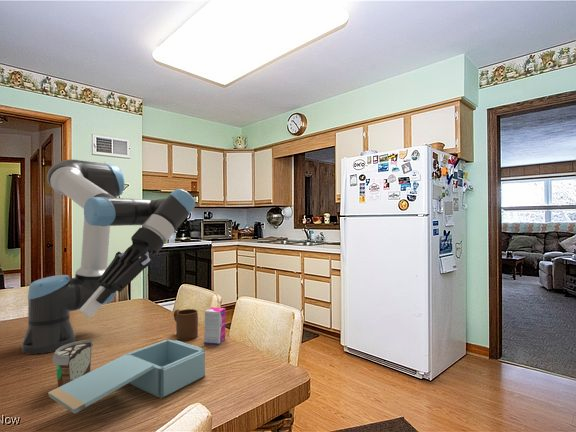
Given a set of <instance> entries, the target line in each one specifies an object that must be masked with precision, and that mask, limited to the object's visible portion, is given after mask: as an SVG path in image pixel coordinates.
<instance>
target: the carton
mask: <svg viewBox="0 0 576 432" xmlns="http://www.w3.org/2000/svg"><path fill="white" fill-rule="evenodd" d="M126 354H127V355H129V356H132V357H134V358H137V359H139V360H142V361H145V362H147V363H150V364H152V365H154V369H152V370H150V371H148V372H147V373H145V374H143V375H141V376H140V377H138V378H136V379H134V380H133V381H131V382H129V383H128V384H129V385H131V386H134V387H136V388H138V389H140V390H142V391H144V392H146V393H149V394H151V395H152V396H155V397H157V398H159V399H162V398H163V399H164V397H167V396H169V395H171V394H172V393H175V392H176V391H178V390H180V389H182V388H184V387H186V386H188V385H190V384H192V383H194V382H195V381H198V380H200V379H201V378H203V377H205V376H206V350H204V349H203V348H202V347H200V346H197V345H192V344H190V343H187V342H183V341H181V340H178V339H175V340H172V339H169V338H168V339H164V340H162V341H161V340H160V341H158V342H156V343H153V344H150V345H148V346H145V347H142V348H139V349H136V350H133V351H131V352H129V353H126Z"/></svg>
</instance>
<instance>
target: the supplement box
mask: <svg viewBox="0 0 576 432" xmlns="http://www.w3.org/2000/svg"><path fill="white" fill-rule="evenodd" d="M226 310H227V309H226V307H214V306H212V307H210V308H208V309H206V310H205V311H204V328H203V329H204V333H203V334H204V335H203V337H204V339H203V344H204V345H214V346H215V345H216V346H219V345H220V344H221V343H223V342H224V340H226V314H227V313H226Z"/></svg>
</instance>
